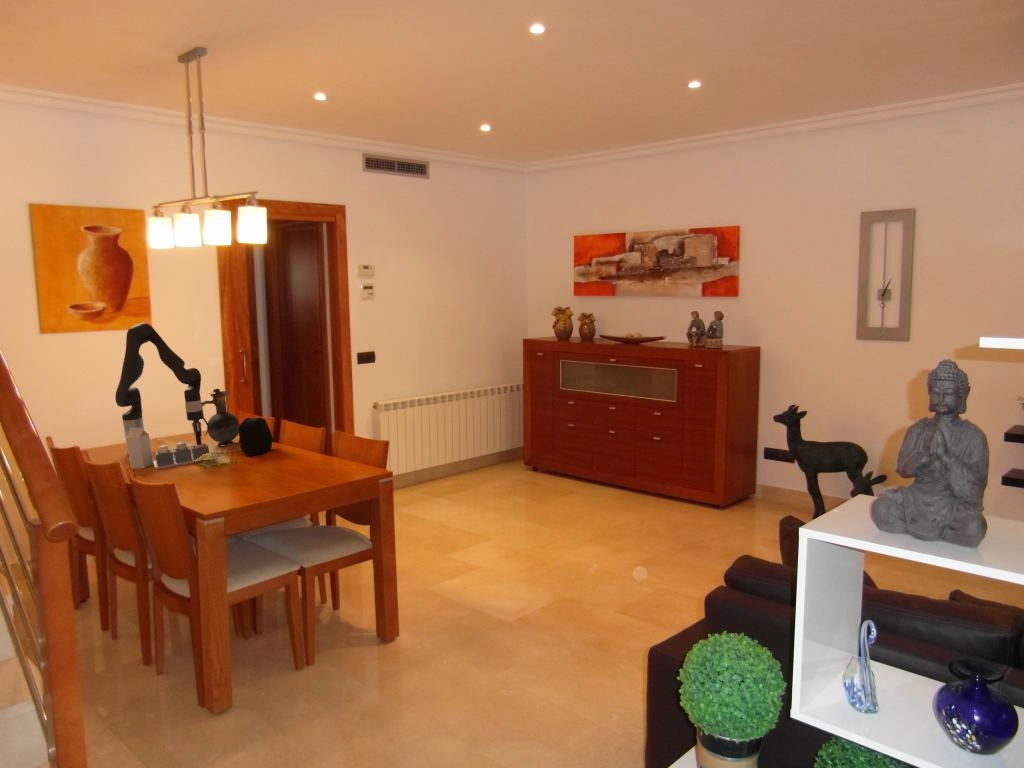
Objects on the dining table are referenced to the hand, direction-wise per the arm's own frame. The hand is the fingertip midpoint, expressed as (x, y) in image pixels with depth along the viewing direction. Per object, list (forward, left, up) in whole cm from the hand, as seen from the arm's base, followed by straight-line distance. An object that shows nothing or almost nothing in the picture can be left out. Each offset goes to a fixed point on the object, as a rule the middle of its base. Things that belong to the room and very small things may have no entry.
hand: (199, 444), depth 373 cm
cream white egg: (0, -16, -3) cm, 16 cm away
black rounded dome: (+8, +25, -7) cm, 27 cm away
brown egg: (0, 0, -5) cm, 5 cm away
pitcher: (-20, +13, -7) cm, 25 cm away
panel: (0, -8, -7) cm, 11 cm away
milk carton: (-4, -26, -7) cm, 27 cm away
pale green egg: (0, -8, -3) cm, 9 cm away
